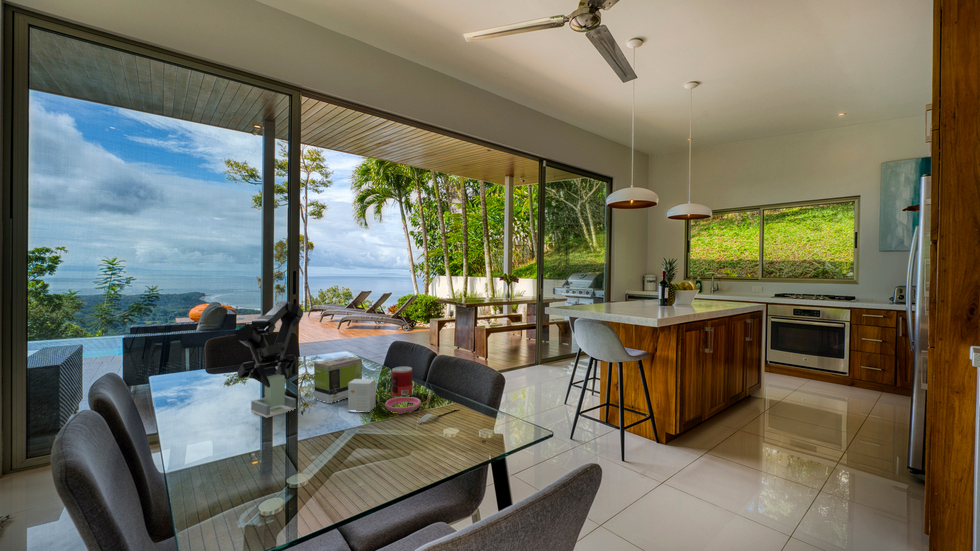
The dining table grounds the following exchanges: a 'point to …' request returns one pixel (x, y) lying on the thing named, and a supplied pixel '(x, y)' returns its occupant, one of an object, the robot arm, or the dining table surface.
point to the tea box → (335, 377)
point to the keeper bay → (266, 411)
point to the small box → (361, 394)
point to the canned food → (401, 381)
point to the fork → (426, 417)
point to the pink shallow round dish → (400, 400)
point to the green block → (275, 390)
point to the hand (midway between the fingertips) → (276, 385)
